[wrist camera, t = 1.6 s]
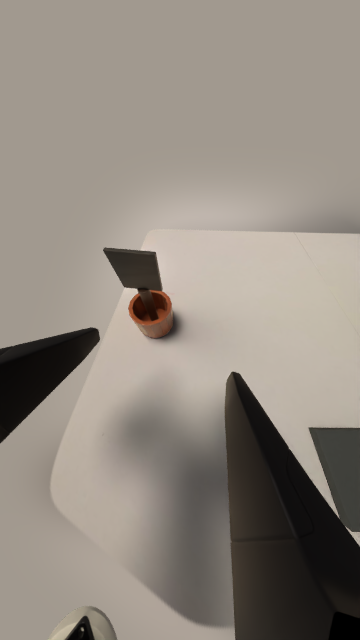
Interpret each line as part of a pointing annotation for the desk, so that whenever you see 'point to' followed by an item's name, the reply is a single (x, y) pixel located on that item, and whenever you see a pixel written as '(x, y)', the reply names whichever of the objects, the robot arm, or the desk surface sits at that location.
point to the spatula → (137, 274)
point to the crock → (143, 319)
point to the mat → (341, 469)
